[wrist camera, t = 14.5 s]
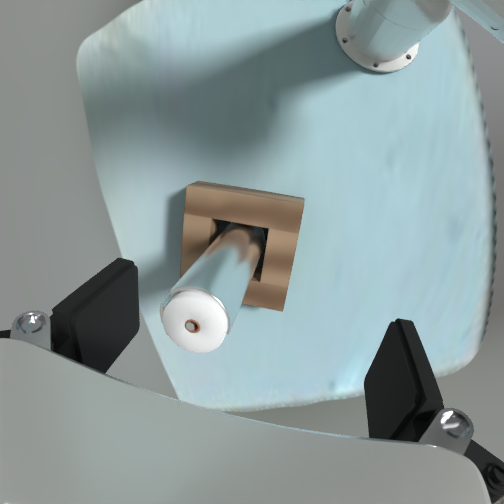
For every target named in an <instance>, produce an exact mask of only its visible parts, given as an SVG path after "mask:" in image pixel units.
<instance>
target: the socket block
mask: <svg viewBox="0 0 504 504" xmlns="http://www.w3.org/2000/svg"><path fill="white" fill-rule="evenodd" d="M303 208H304V198H300V197H294V196H289V195H283V194H278V193H272V192H266V191H260V190H254V189H248V188H242V187H235V186H229V185H222V184H216V183H209V182H202V181H197V182H195V183H192V184H189V185H187V188H186V199H185V210H184V222H183V236H182V251H181V268H180V279H181V277H182V276H183V275H184V274H185V273H186V272H187V271H188V270H189V268H190V267H191V266H192V265H193V264H194V263H195V262H196V261H197V260H198V258H199V257H200V256H201V255H202V254H203V253H204V252H205V251H206V249H207V248H208V247H209V246H210V245H211V244H212V243H213V242H214V241H215V240H216V238H217V237H218V229H219V220H225V221H230V222H236V223H242V224H247V225H253V226H258V227H264V228H269V232H268V238H267V244H266V251H265V257H264V263H263V269H262V268H257V267H256V269H255V271H254V274H253V276H252V279H251V281H250V284H249V286H248V289H247V291H246V294H245V296H244V299H243V301H242V304H247V305H252V306H257V307H262V308H267V309H272V310H277V311H283V308H284V304H285V299H286V294H287V290H288V285H289V280H290V275H291V270H292V265H293V260H294V255H295V250H296V245H297V240H298V235H299V230H300V224H301V219H302V214H303Z"/></svg>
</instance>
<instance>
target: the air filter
mask: <svg viewBox="0 0 504 504" xmlns="http://www.w3.org/2000/svg"><path fill="white" fill-rule="evenodd" d="M264 246H265V235H264V232H263V230H262V228H261V227H258V226H253V225H247V224H242V223H236V222H232V223H230V224H229V225H228V226H227V227H226V229H225V230H224V231H223V232H222V233H221V234H220V235H219V236H218V237H217V238H216V240H215V241H214V242H213V243H212V244H211V245H210V246H209V247H208V248H207V249H206V251H205V252H204V253H203V254H202V255H201V256H200V257H199V258H198V260H197V261H196V262H195V263H194V264H193V265H192V266H191V267H190V268H189V270H188V271H187V272H186V273H185V274H184V275H183V276H182V277H181V279H180V280H179V281H178V282H177V283H176V284H175V285H174V287H173V288H172V289H171V290H170V291H169V293H170V294H169V296H168V297H167V298H166V299H165V300H164V301H163V303H162V304H161V305H160V317H161V321H162V324H163V326H164V329H165V331H166V334H167V335H168V336H169V337H170V339H171V340H172V341H173V342H174V343H176V344H177V345H178V346H179V347H181V348H183V349H185V350H188V351H191V352H195V353H205V352H210V351H212V350H214V349H216V348H217V347H218V346H219V345H220V344H221V343H222V341H223V339H224V337H225V335H226V334H229V333H230V331H231V328H232V326H233V323H234V321H235V319H236V316H237V314H238V311H239V309H240V306H241V304H242V301H243V299H244V296H245V294H246V291H247V289H248V286H249V284H250V281H251V279H252V276H253V274H254V271H255V269H256V266H257V264H258V261H259V259H260V256H261V254H262V251H263V249H264Z"/></svg>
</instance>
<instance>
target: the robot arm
mask: <svg viewBox="0 0 504 504" xmlns="http://www.w3.org/2000/svg"><path fill="white" fill-rule="evenodd" d="M453 5H454V6H457V7H458V8H460V9H461V10H462V11H464V12H465V13H466V14H468V15H469V16H470V17H471V18H473V19H474V20H475V21H476V22H478V23H479V24H480V25H481V26H483V27H484V28H485V29H486V30H487V31H489V32H490V33H491V34H492V35H493V36H494V37H495V38H497V39H498V40H499V41H500V42H501V43H503V44H504V0H353V1H350V2H349V3H347V4H346V5H345V6H344V7H343V8H342V9H341V10H340V12H339V14H338V16H337V19H336V25H335V31H336V36H337V39H338V42H339V44H340V46H341V48H342V49H343V51H344V52H345V53H346V54H347V55H348V56H349V57H350V58H351V59H352V60H353V61H354V62H356V63H357V64H359V65H360V66H362V67H365V68H367V69H369V70H373V71H376V72H383V73H385V72H395V71H399V70H401V69H403V68H405V67H406V66H408V65H409V64H410V63H411V62H412V61H413V60H414V58H415V57H416V55H417V52H418V49H419V41H420V40H422V39H423V38H424V37H425V36H426V35H428V34H429V33H430V32H431V31H432V30H434V29H435V28H436V27H437V26H438V25H439V24H441V23H442V22H443V21H444V20H445V19H446V18H447V17H448V15H449V14H450V11H451V9H452V6H453ZM346 10H348V11H349V12H347V11H346ZM343 41H345V42H346V43H343ZM406 57H408V59H407V58H406ZM373 65H376V67H374V66H373ZM52 311H53V315H51V316H50V317H49V316H48V315H47V314H46V313H44V312H41V311H27V312H25V313H22V314H20V315H19V316H17V317H16V318H15V320H14V321H13V323H12V327H11V330H5V331H0V504H504V463H503V462H502V461H501V460H500V459H498V458H497V457H495V456H494V455H493V454H491V453H490V452H488V451H487V450H486V449H484V448H483V447H482V446H480V445H479V444H477V443H476V442H475V441H473V440H472V439H471V438H472V436H473V433H474V426H473V423H472V421H471V420H470V418H469V417H468V416H467V415H466V414H465V413H464V412H462V411H460V410H458V409H455V408H444V405H443V402H442V401H443V399H442V397H441V394H440V391H439V388H438V385H437V382H436V379H435V377H434V374H433V371H432V368H431V366H430V363H429V361H428V358H427V355H426V353H425V350H424V348H423V345H422V343H421V340H420V338H419V335H418V333H417V331H416V328H415V326H414V323H413V322H412V321H410V320H404V319H396V320H395V322H391V323H390V324H389V326H388V329H387V331H386V333H385V336H384V338H383V340H382V343H381V345H380V347H379V349H378V351H377V354H376V356H375V358H374V360H373V362H372V364H371V366H370V368H369V370H368V372H367V374H366V377H365V380H364V390H365V399H366V408H367V418H368V428H369V438H364V437H354V436H346V435H338V434H330V433H323V432H316V431H309V430H303V429H297V428H292V427H286V426H281V425H275V424H271V423H266V422H261V421H256V420H252V419H248V418H243V417H239V416H235V415H231V414H226V413H223V412H219V411H215V410H212V409H208V408H204V407H201V406H197V405H194V404H190V403H187V402H184V401H181V400H177V399H174V398H171V397H168V396H165V395H161V394H159V393H156V392H153V391H150V390H147V389H144V388H141V387H138V386H136V385H133V384H130V383H128V382H125V381H122V380H120V379H117V378H115V377H112V376H110V375H107V374H105V373H106V372H107V370H108V369H109V368H110V366H111V365H112V364H113V363H114V361H115V360H116V359H117V358H118V356H119V355H120V354H121V352H122V351H123V350H124V349H125V348H126V346H127V345H128V344H129V343H130V341H131V340H132V339H133V338H134V336H135V335H136V334H137V332H138V330H139V324H140V322H139V299H138V268H137V266H135V265H134V262H133V261H130V260H127V259H123V258H117V259H116V260H115V261H114V262H112V263H111V264H109V265H108V266H107V267H105V268H104V269H103V270H101V271H100V272H99V273H97V274H96V275H95V276H94V277H92V278H91V279H89V280H88V281H87V282H85V283H84V284H83V285H82V286H80V287H79V288H78V289H77V290H75V291H74V292H73V293H71V294H70V295H69V296H68V297H66V298H65V299H64V300H63V301H61V302H60V303H59V304H58V305H56V306H55V307H54V308H53V309H52Z"/></svg>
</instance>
